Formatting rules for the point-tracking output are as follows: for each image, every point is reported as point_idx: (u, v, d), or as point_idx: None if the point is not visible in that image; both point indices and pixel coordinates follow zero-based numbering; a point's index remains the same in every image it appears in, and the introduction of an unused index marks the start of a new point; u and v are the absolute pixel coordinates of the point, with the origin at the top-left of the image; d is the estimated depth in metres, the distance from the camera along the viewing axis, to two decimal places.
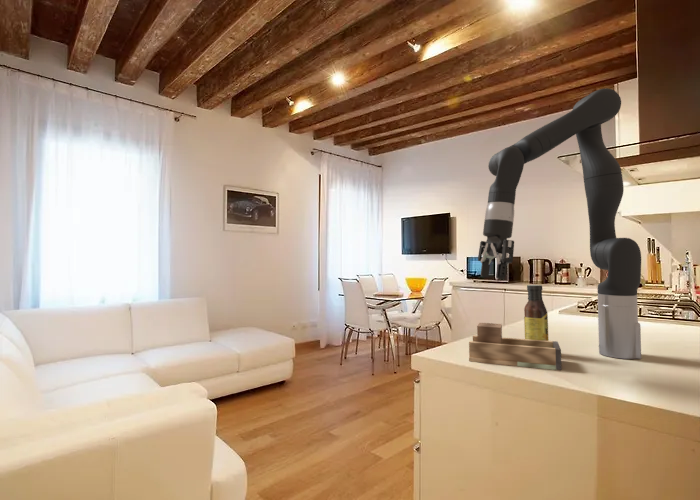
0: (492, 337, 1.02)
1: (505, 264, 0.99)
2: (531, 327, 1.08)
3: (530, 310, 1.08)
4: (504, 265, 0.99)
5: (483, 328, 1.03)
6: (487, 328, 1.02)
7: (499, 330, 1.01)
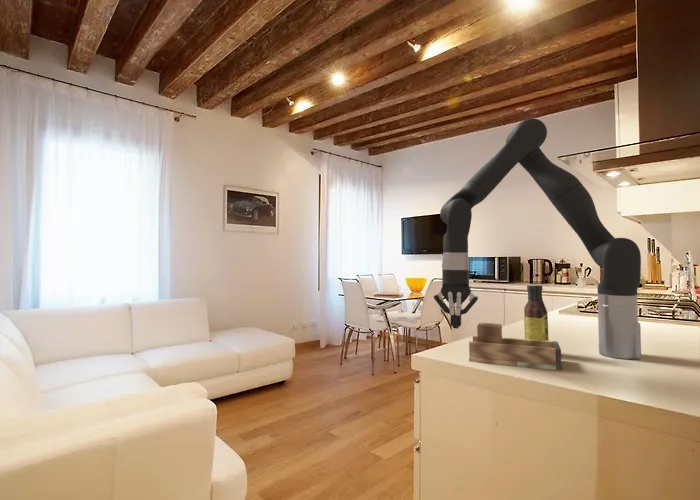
0: (492, 337, 1.02)
1: (461, 314, 1.08)
2: (531, 327, 1.08)
3: (530, 310, 1.08)
4: None
5: (483, 328, 1.03)
6: (487, 328, 1.02)
7: (499, 330, 1.01)
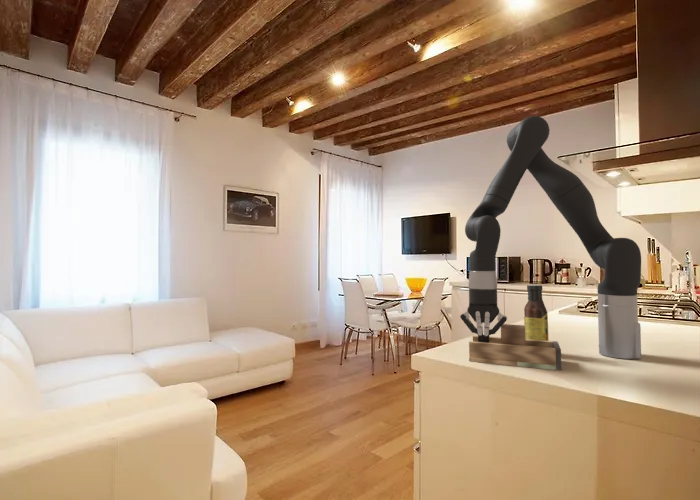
0: (516, 339, 0.99)
1: (489, 334, 1.05)
2: (531, 327, 1.08)
3: (530, 310, 1.08)
4: None
5: (506, 330, 1.00)
6: (511, 330, 1.00)
7: (524, 332, 0.99)
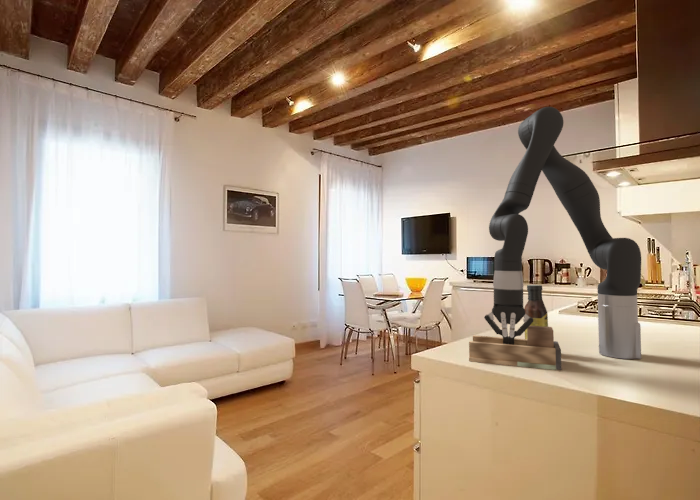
0: (543, 341, 0.97)
1: (515, 336, 1.02)
2: None
3: (530, 310, 1.08)
4: (514, 337, 1.02)
5: (533, 332, 0.98)
6: (538, 331, 0.97)
7: (552, 333, 0.96)
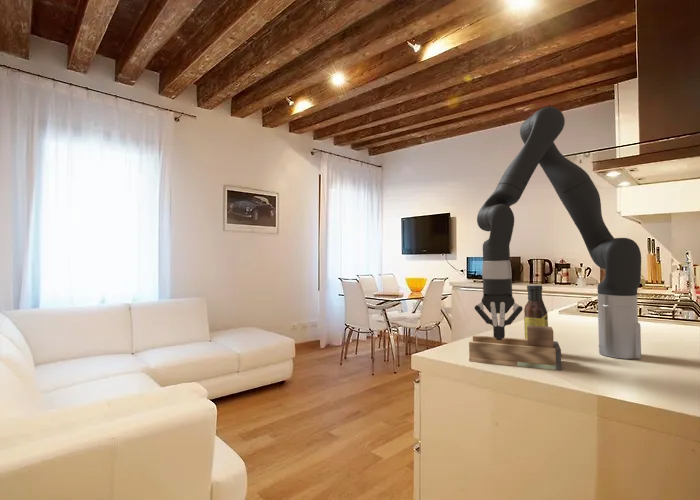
0: (543, 341, 0.97)
1: (505, 325, 1.03)
2: None
3: (530, 310, 1.08)
4: (504, 326, 1.03)
5: (533, 332, 0.98)
6: (538, 331, 0.97)
7: (552, 333, 0.96)
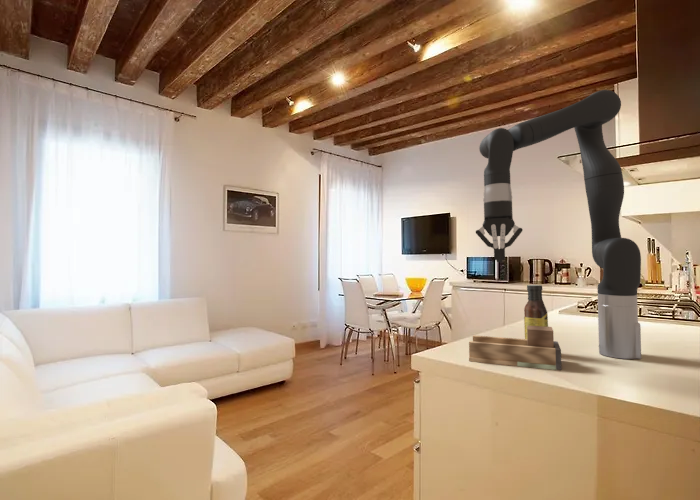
0: (543, 341, 0.97)
1: None
2: None
3: (530, 310, 1.08)
4: (504, 249, 1.06)
5: (533, 332, 0.98)
6: (538, 331, 0.97)
7: (552, 333, 0.96)
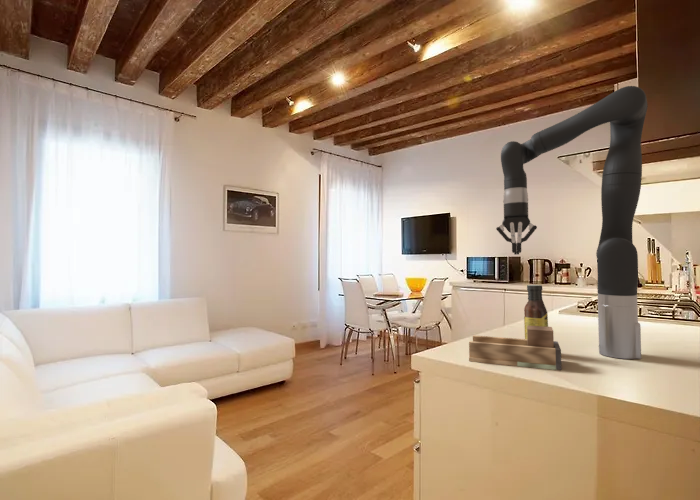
0: (543, 341, 0.97)
1: (521, 242, 1.25)
2: None
3: (530, 310, 1.08)
4: None
5: (533, 332, 0.98)
6: (538, 331, 0.97)
7: (552, 333, 0.96)
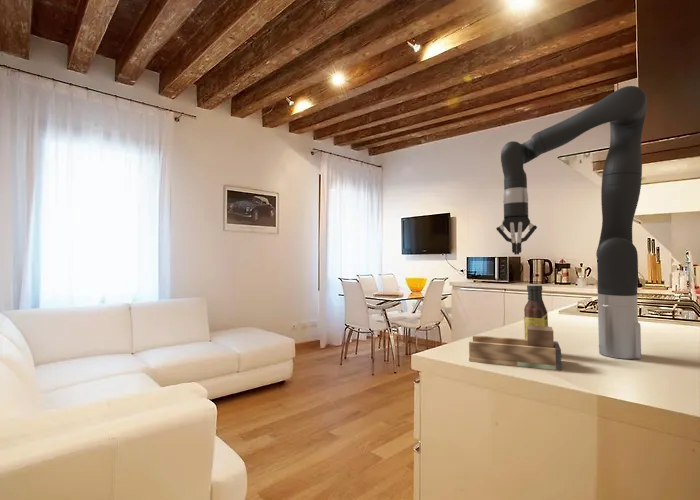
0: (543, 341, 0.97)
1: None
2: None
3: (530, 310, 1.08)
4: None
5: (533, 332, 0.98)
6: (538, 331, 0.97)
7: (552, 333, 0.96)
